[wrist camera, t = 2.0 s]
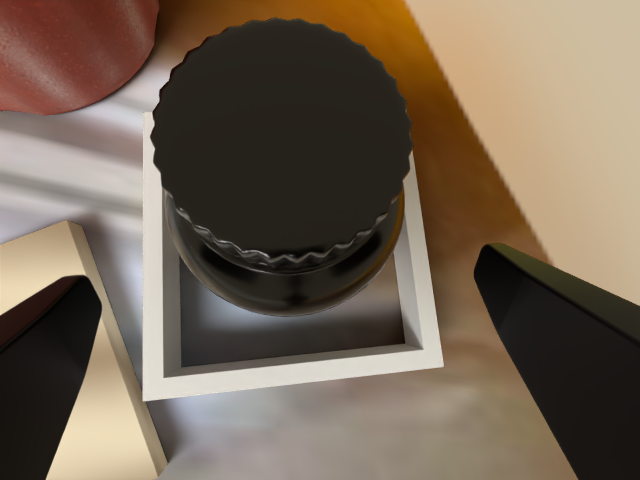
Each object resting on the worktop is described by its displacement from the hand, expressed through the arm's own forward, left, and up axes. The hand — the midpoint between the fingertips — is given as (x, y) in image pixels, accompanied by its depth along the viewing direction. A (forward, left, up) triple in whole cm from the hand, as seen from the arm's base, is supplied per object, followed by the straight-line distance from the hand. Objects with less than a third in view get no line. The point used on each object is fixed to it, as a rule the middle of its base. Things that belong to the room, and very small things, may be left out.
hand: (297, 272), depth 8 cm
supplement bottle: (+2, -1, -10) cm, 10 cm away
